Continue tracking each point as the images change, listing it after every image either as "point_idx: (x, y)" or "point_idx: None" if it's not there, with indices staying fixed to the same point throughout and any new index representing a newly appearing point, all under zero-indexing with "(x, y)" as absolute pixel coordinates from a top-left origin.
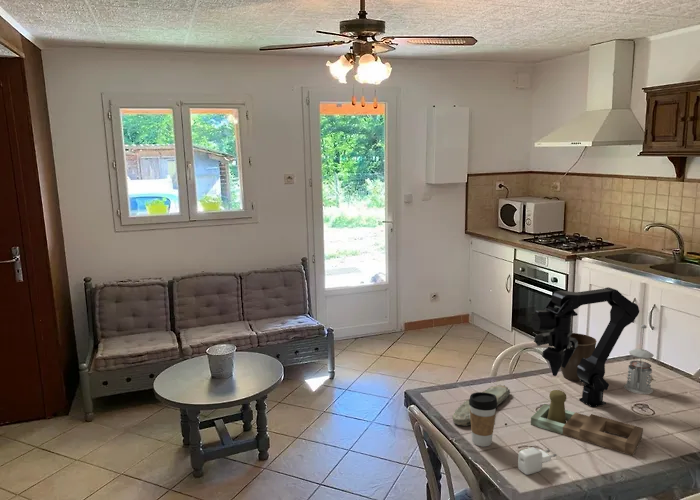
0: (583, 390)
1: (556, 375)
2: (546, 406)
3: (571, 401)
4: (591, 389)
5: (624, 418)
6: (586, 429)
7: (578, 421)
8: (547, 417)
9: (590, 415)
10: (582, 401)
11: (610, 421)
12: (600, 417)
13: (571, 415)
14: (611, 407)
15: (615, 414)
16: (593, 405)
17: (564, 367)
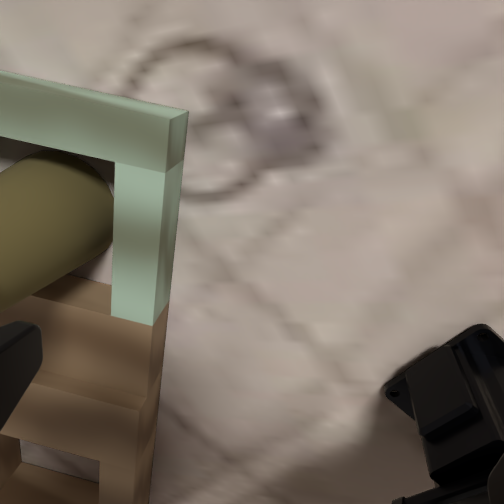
0: (461, 409)
1: (24, 373)
2: (132, 141)
3: (442, 276)
4: (432, 476)
5: (308, 493)
6: None
7: (47, 340)
8: (21, 162)
9: (116, 407)
10: (450, 342)
11: (109, 476)
12: (123, 445)
13: (113, 303)
14: (425, 464)
15: (338, 469)
16: (395, 397)
17: (490, 483)
